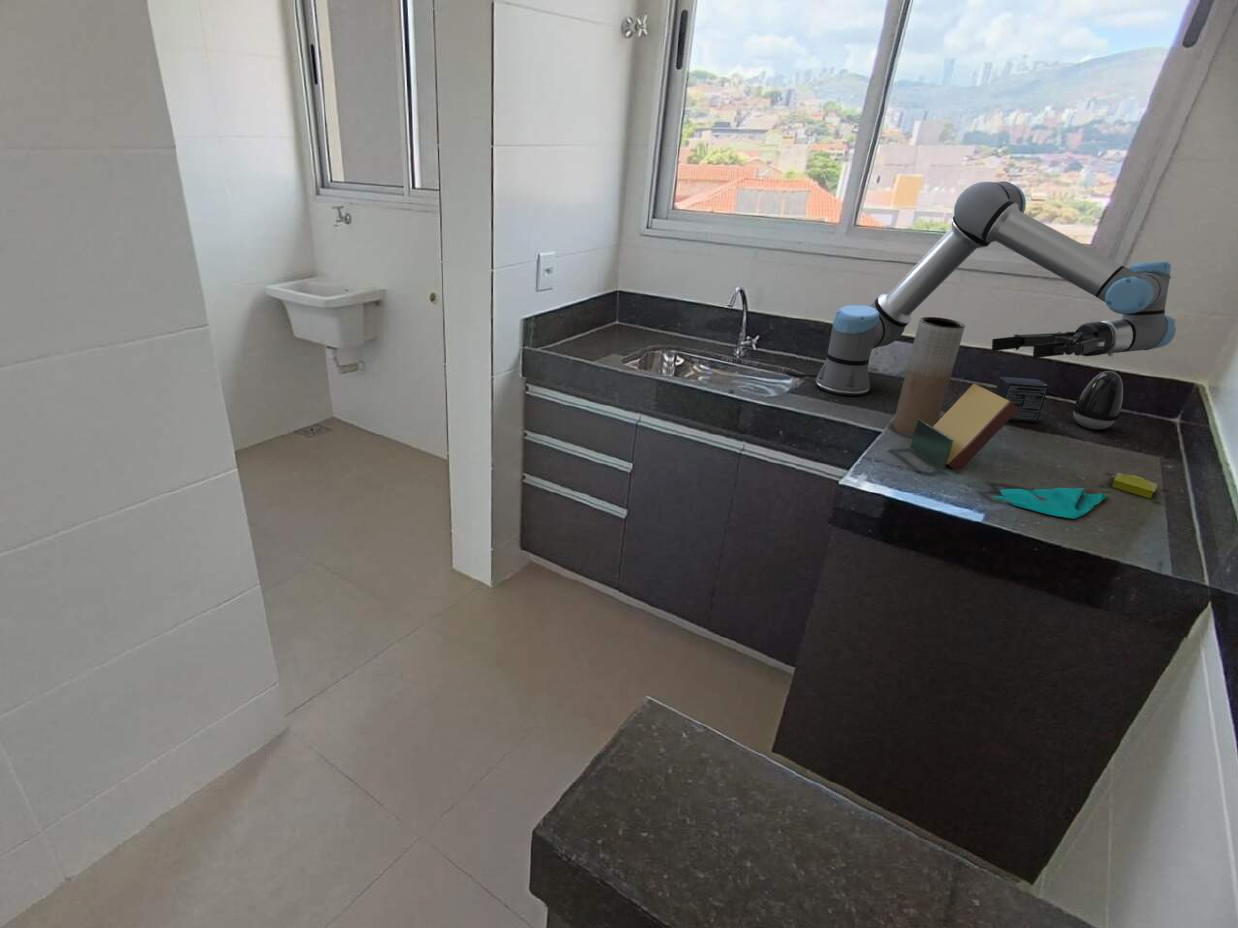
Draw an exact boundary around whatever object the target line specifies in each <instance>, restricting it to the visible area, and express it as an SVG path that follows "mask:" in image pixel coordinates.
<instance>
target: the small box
mask: <svg viewBox="0 0 1238 928" xmlns="http://www.w3.org/2000/svg"><path fill="white" fill-rule="evenodd" d="M997 380H998V381H997V383H996V387H995V390H994V392H993V393H994V394H996V395H998V396H1000V397H1002V398H1004V399H1006V400H1008V401H1011V402H1012V403H1013V404H1014V405H1015V406H1016V407H1017V408H1018V409H1019V410H1018V411H1017V412H1016V413H1015V414H1014V415H1013V416H1012V417H1011V418H1010V419H1009V421H1011V422H1023V423H1024V422H1025V423H1036V424H1037V423H1038V422H1039V418H1040V415H1041V412H1042V409H1043V405H1044V403H1045V399H1046V396H1047V393H1048V390H1049V388H1050V385H1048V384H1047V383H1045V382H1043V380H1040V379H1037V378H1024V377H1023V378H1022V377H1011V376H1010V377H1009V376H999V377H998V379H997ZM1009 421H1008V422H1009Z"/></svg>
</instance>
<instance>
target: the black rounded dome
mask: <svg viewBox="0 0 1238 928" xmlns="http://www.w3.org/2000/svg"><path fill="white" fill-rule="evenodd" d="M1123 385H1124V384H1123V381H1122V378H1121V375H1120V374H1118V373H1117V372H1116V371H1115V370H1111V371H1110V370H1107V371H1103V372H1100V373H1098V374H1097V375H1096V376H1095V377H1093V378H1092V379H1091V381H1090V382H1088V384H1087V385H1086V387H1085V388H1083V390H1082V392H1081V393H1080V395H1079V396H1078V397H1077V399H1076V401H1075V403H1074V405H1073V407H1072V410H1073V419H1074V420H1075V422H1076V423H1077V424H1078V425H1080V426H1081V427H1084V428H1087V429H1090V430H1096V431H1097V430H1099V431H1100V430H1104V429H1107V428H1110V427H1111V426H1112V425H1114V423H1115V422H1116V421H1117V420H1119V418H1120V415H1121V411H1122V407H1123V399H1124V397H1123V396H1124V386H1123Z"/></svg>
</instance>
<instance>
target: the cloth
mask: <svg viewBox="0 0 1238 928" xmlns="http://www.w3.org/2000/svg"><path fill="white" fill-rule="evenodd" d="M999 491H1000V493H1001V495H996V496H995V495H993V498H994V499H998V500H1002V501H1006V504H1008V505H1010V506H1015V507H1017V508H1022V509H1025V510H1028V511H1029V510H1030V511H1033V512H1037V513H1041V514H1045V515H1049V516H1054V517H1058V518H1059V517H1060V518H1066V519H1074V520H1075V519H1077V518H1079V517H1082V516H1084V515H1086V514H1087V513H1089V512H1090V511H1091V510H1093V509H1094V507H1095V506H1097V505H1099V504H1100V503H1101V502H1103V500H1105V499H1106V498H1107V497H1108V496H1107V494H1105V493H1103V492H1102V493H1093V494H1092V493H1084V492H1085V491H1086V490H1085V488H1083V487H1081V488H1079V487H1076V488H1070V487H1060V486H1059V487H1055V488H1052V489H1047V488H1039V489H1034V488H1033V490H1029V489H1023V488H1005V489H1000V490H999ZM1039 497H1041V498H1044V499H1045V500H1041V499H1039ZM1081 497H1083V498H1081Z"/></svg>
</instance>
